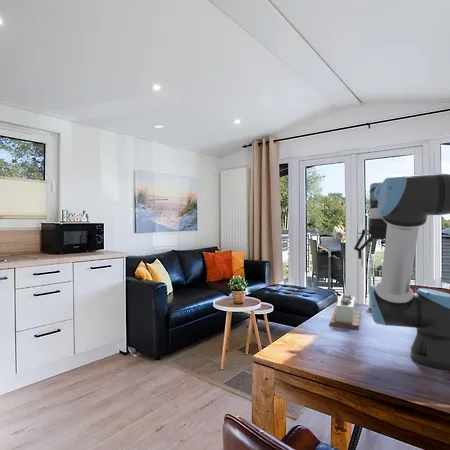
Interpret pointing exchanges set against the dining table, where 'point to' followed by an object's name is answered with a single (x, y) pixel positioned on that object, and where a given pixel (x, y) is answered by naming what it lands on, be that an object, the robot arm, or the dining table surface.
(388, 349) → the dining table surface
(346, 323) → the board
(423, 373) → the dining table surface
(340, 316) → the two-pocket foam insert
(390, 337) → the dining table surface
